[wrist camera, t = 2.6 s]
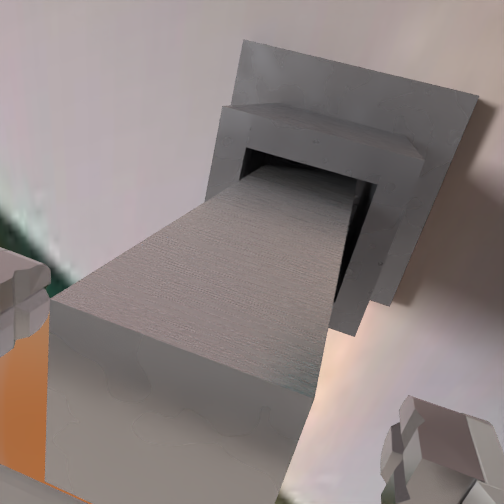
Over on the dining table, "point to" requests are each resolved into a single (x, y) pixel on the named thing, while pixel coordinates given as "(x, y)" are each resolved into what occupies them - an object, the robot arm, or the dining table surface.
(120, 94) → the dining table surface
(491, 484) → the robot arm
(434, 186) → the stand
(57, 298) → the column
